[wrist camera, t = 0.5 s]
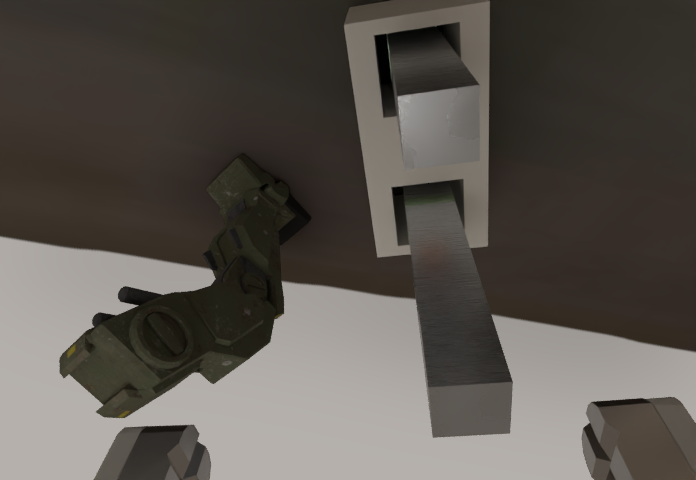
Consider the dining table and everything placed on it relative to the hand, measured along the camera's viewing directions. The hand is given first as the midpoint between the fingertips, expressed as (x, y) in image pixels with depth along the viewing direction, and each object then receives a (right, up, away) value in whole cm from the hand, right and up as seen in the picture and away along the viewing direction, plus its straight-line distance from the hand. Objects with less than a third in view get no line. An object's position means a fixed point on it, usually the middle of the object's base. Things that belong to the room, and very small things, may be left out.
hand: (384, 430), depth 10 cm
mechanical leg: (-11, +9, +42) cm, 44 cm away
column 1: (+5, +22, +33) cm, 40 cm away
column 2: (+6, +7, +33) cm, 34 cm away
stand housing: (+6, +17, +36) cm, 40 cm away
